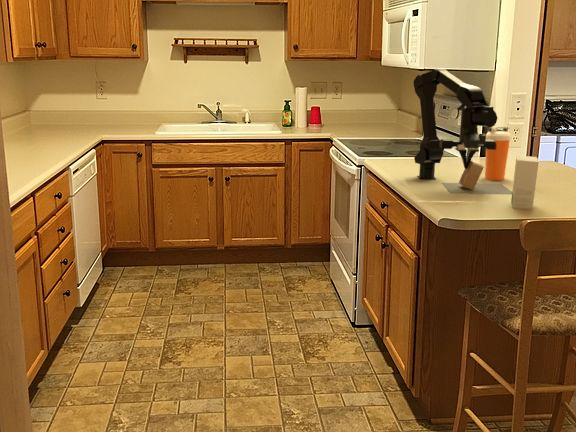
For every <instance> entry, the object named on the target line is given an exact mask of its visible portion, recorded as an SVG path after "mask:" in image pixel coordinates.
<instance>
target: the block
mask: <svg viewBox="0 0 576 432" xmlns="http://www.w3.org/2000/svg"><path fill="white" fill-rule="evenodd" d="M484 169H485V166H484V165H482V164H481V163H480V162H477V161H474V160H473V159H471V161H470V163H469V166H468V168H467V169H465V168H464V169H463V172H462V174H461V176H460V179H459V181H458V183H460V184H461V185H462V186H463V187H466V188H469V189H471V190H474V188H475V185H476V183H478V182H479V179H480V177H481V174H482V172H483V170H484Z"/></svg>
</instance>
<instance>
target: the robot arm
mask: <svg viewBox="0 0 576 432" xmlns="http://www.w3.org/2000/svg"><path fill="white" fill-rule="evenodd" d="M439 85H442V86H444V87H445V88H447V89H448V90H450V91H451V92H453V93H454V95H455V98H456V99H457V100H458V101H459V103H460V104H461V105H459V106H458V107H457V109H456V110H457V111H460V112H461V114H460V126H459V127H460V128H459V139H458V140H459V141H455V140H453V139H452V138H439V137H438V134H437V123H436V111H435V100H434V99H435V98H434V97H435V95H436V93H437V91H438V90H437V89H438V86H439ZM413 87H414V88H413V89H414V92H415V94H416V96H417V98H418V99H419V102H420V113H421V124H422V135H423V137H422V140H421V142H420V145H419V151H418V153H416V155H415V156H414V164H417V165H419V173H418V175H417V176H416V177H417V179H418V180H429V181H431V180H433V181H435V180H437V178H436V177H435V174H436V173H435V171H436V170H435V169H436V164H441V161H442V158H443V156H444V151H445V150H451V149H453V148H455V150H456V151H457V152H458V153H459V155H460V158H461V161H462V164H463V167H464V170H465V169H467V168H468V166H469V163H470V161H471V160H473V159H472V158H473V157H474V156H475V154H476V153H479V152H480V148H485V150H486V149H490V150H495V149H496V142H495V141H493V140H486V134H485V133H478V130H479V128H478V126H479V127H485V128H489V127H493V128H494V126H495V125H496V124H497V122H498V115H497V113H496V111H495V110H494V106H489V105H488V102H487V100H486V97H485V95H484V93H483V90H482V89H481V87H478V86H476V85H472V84H468V83H465V82H464V81H463V80H461V79H459V78H458V77H457V76H455V75H454V74H452V73H450V72H449V71H448V70H447V69H446V68H442V67H441V68H434V69H432V70H430V71H428V72H425V73H422V74H417V75H416V76H415V77H414V79H413Z"/></svg>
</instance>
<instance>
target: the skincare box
mask: <svg viewBox="0 0 576 432" xmlns="http://www.w3.org/2000/svg"><path fill="white" fill-rule="evenodd" d="M538 169H539V159H538V157H537V156H528V155H527V156H526V155H516V158H515V165H514V175H513V181H512V182H513V183H512V189H511V191H512V194H511V198H510V199H511V201H510V204H511V208H512V209H517V210H519V209H520V210H533V209H534V208H533V206H534V199H535V193H536V192H535V191H536V185H537V177H538Z"/></svg>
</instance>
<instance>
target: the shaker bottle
mask: <svg viewBox="0 0 576 432" xmlns="http://www.w3.org/2000/svg"><path fill="white" fill-rule="evenodd" d="M509 129H510V127H507V126H505V127H504V126H503V127H502V126H499V127H494V126H493V127H487V133H486V134H485V135H486V138H485V140H493V141H495V142H496V149H495V150H490V149H486V148H485V162H484V163H485V166H484V170H485V171H484V178H485V179H486V180H491V181H504V180H505V176H506V167H507V161H508V153H509V147H510V142H511V138H512V137H511V133H510V132H509V131H508V130H509Z"/></svg>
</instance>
